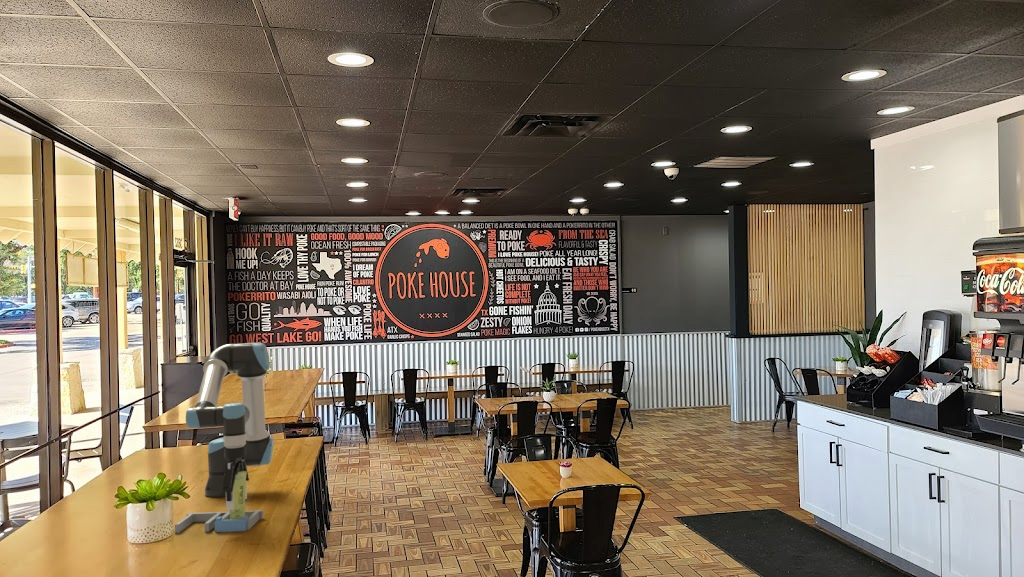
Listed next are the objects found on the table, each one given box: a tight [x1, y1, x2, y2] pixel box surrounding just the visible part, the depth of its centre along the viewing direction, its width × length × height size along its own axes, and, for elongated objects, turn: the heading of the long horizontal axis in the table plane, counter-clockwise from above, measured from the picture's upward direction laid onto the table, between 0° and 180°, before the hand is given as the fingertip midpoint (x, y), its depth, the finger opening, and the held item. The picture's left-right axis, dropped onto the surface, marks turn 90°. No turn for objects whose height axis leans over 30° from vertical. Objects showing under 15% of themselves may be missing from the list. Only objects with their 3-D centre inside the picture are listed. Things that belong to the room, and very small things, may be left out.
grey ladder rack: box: [174, 509, 264, 534], centre depth 273 cm, size 15×28×5 cm, turn 92°
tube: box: [229, 470, 248, 519], centre depth 272 cm, size 6×5×20 cm
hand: (236, 504), depth 272 cm, fingers open, 13 cm apart
